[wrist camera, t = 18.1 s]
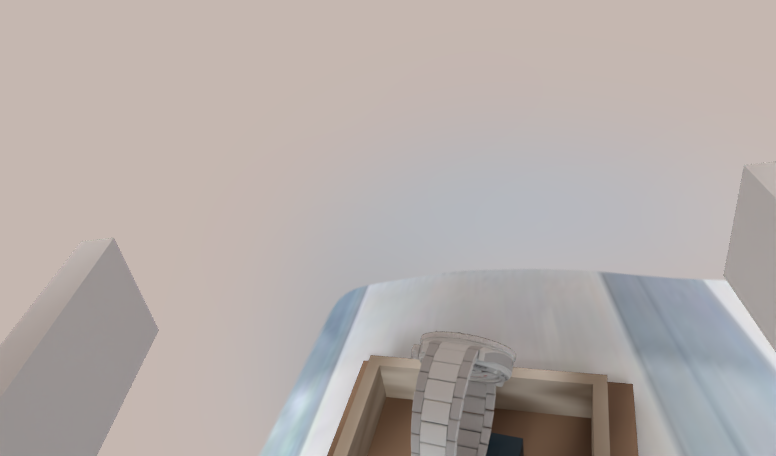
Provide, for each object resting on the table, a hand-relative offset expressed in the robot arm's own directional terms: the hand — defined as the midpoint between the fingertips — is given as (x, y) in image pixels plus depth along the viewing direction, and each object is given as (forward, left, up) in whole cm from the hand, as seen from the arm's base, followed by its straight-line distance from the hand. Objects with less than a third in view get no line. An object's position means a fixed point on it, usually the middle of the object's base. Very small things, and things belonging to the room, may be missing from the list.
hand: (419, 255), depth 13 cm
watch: (-5, -8, -24) cm, 26 cm away
